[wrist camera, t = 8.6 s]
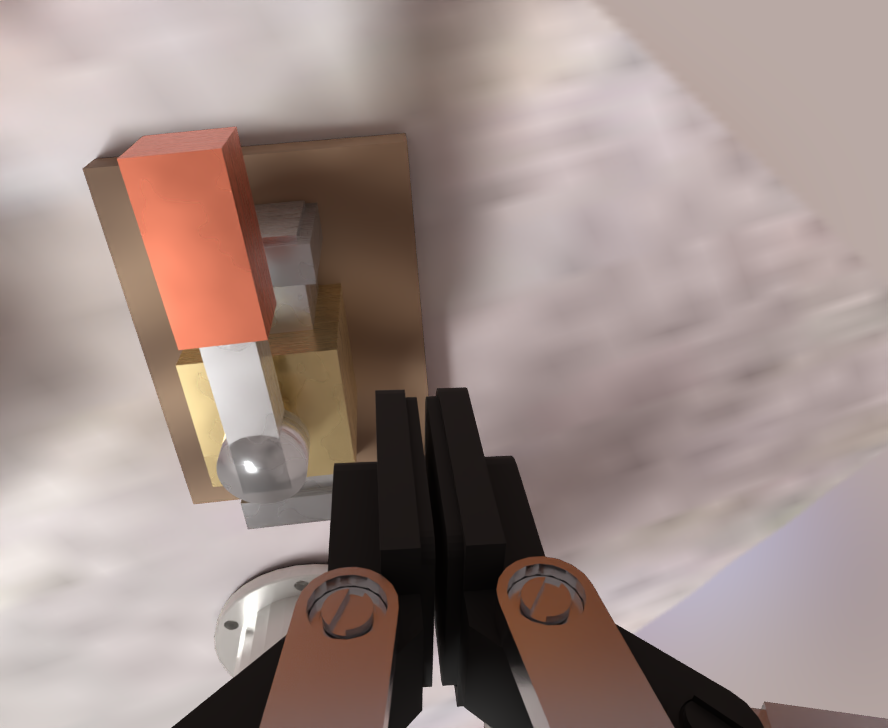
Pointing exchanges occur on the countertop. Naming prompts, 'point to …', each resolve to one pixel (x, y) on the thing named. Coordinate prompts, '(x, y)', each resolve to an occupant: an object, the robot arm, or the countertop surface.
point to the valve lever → (219, 298)
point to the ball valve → (293, 366)
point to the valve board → (341, 261)
